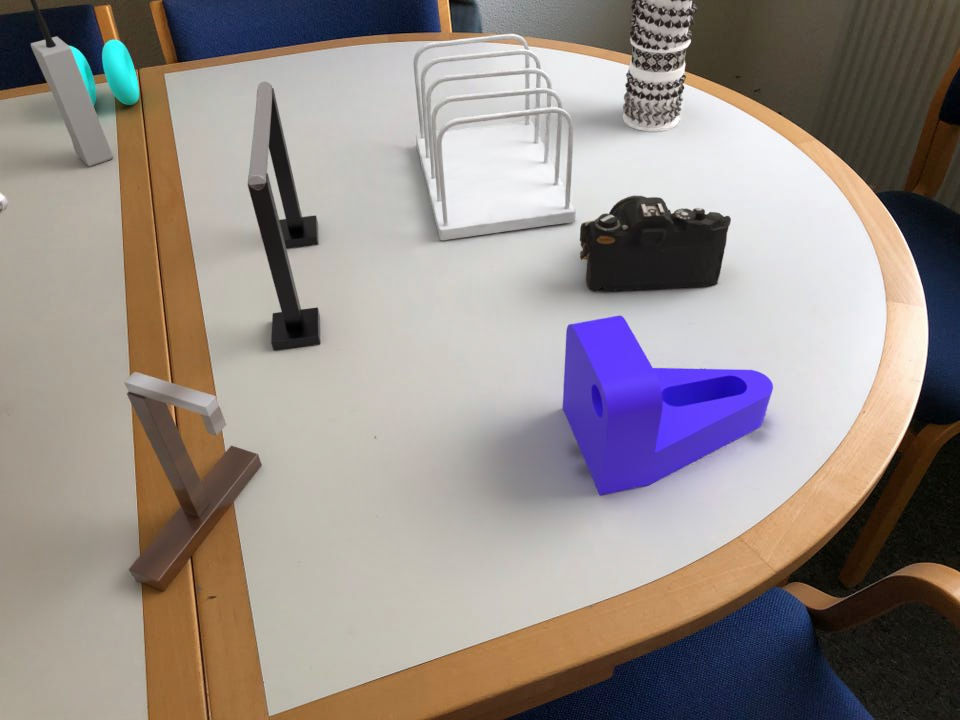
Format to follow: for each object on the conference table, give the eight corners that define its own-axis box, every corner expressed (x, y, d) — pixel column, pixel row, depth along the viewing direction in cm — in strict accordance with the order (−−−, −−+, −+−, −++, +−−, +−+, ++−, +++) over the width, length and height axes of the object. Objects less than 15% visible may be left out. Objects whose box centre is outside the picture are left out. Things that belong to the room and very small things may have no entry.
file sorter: (416, 146, 116) (405, 39, 106) (532, 132, 118) (533, 26, 108) (440, 242, 98) (430, 124, 88) (576, 224, 100) (582, 106, 89)
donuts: (81, 97, 133) (57, 37, 126) (142, 88, 135) (122, 29, 128) (75, 123, 126) (49, 61, 119) (140, 113, 128) (119, 52, 121)
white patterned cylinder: (683, 107, 122) (710, -71, 105) (679, 135, 116) (706, -50, 99) (624, 102, 124) (640, -73, 107) (617, 130, 118) (633, -53, 101)
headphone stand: (134, 580, 65) (50, 442, 53) (235, 456, 74) (182, 316, 62) (214, 612, 62) (144, 475, 51) (308, 480, 72) (266, 339, 60)
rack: (273, 350, 85) (226, 187, 71) (278, 227, 102) (241, 77, 88) (320, 344, 85) (282, 181, 72) (317, 223, 102) (286, 73, 89)
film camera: (681, 224, 99) (692, 151, 92) (737, 279, 91) (754, 204, 84) (550, 256, 95) (552, 183, 88) (596, 318, 86) (602, 242, 80)
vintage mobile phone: (101, 147, 120) (32, -29, 103) (114, 159, 117) (44, -20, 100) (77, 155, 118) (2, -22, 101) (89, 168, 115) (14, -13, 98)
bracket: (599, 495, 69) (609, 401, 61) (562, 407, 77) (567, 314, 69) (789, 455, 72) (823, 359, 64) (735, 374, 79) (758, 280, 71)
